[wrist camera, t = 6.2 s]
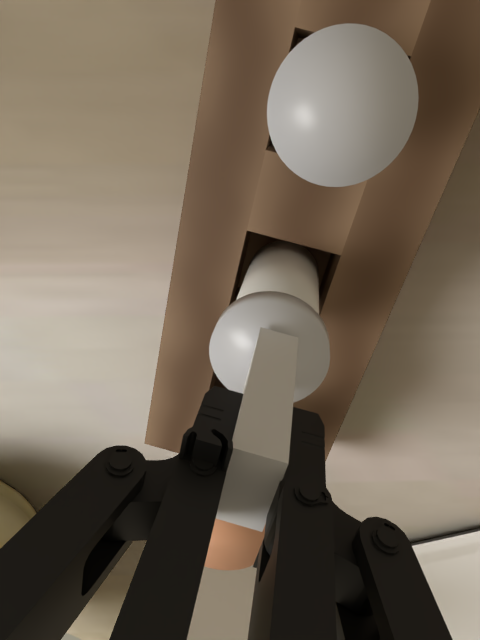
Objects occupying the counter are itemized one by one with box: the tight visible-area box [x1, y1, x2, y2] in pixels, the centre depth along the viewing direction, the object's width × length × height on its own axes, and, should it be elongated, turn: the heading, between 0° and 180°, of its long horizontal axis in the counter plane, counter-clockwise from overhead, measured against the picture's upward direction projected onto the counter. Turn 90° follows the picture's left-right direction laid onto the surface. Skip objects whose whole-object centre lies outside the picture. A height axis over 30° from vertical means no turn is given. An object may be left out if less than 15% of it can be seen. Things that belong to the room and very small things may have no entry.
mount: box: [145, 0, 480, 461], centre depth 26 cm, size 12×28×5 cm, turn 167°
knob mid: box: [209, 241, 330, 403], centre depth 22 cm, size 5×5×9 cm
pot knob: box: [204, 519, 266, 570], centre depth 24 cm, size 5×5×9 cm
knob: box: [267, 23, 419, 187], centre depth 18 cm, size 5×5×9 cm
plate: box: [411, 528, 480, 640], centre depth 40 cm, size 20×20×2 cm
